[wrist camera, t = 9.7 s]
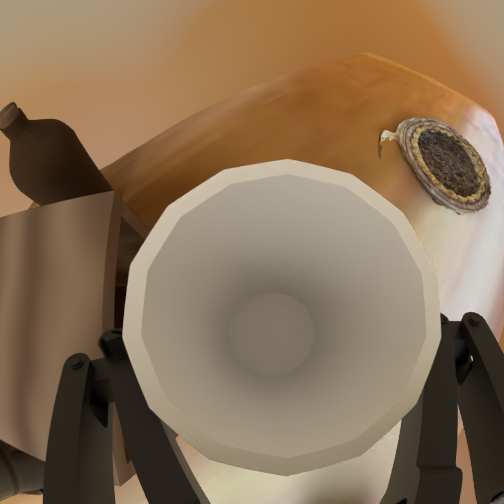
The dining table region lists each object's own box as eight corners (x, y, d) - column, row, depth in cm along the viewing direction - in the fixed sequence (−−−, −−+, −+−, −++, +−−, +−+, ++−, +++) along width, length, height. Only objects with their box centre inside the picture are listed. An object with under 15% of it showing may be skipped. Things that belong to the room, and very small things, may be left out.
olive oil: (117, 234, 40) (14, 130, 16) (66, 242, 40) (-37, 162, 16) (124, 177, 44) (52, 66, 20) (76, 189, 44) (-3, 99, 20)
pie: (487, 159, 44) (498, 147, 40) (489, 264, 37) (506, 256, 32) (386, 102, 49) (393, 86, 44) (363, 197, 42) (372, 181, 37)
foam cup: (319, 260, 21) (384, 149, 9) (347, 378, 18) (462, 405, 6) (195, 284, 21) (117, 194, 9) (218, 407, 18) (156, 485, 5)
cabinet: (96, 408, 31) (-16, 429, 11) (94, 280, 38) (-9, 220, 17) (195, 418, 31) (120, 486, 11) (188, 274, 38) (114, 190, 17)
